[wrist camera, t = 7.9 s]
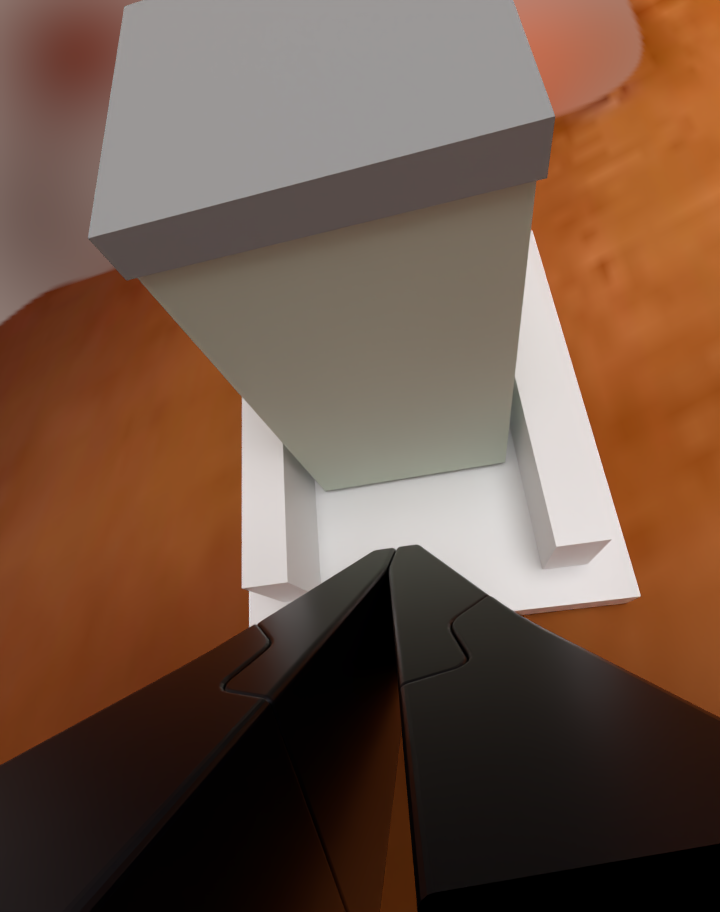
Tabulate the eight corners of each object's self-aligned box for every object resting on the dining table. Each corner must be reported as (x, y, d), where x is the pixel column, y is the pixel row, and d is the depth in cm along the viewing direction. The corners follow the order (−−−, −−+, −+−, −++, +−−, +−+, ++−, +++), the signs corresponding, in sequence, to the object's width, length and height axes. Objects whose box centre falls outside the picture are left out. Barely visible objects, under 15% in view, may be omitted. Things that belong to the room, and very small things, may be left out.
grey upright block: (509, 464, 16) (554, 116, 6) (322, 494, 16) (88, 238, 7) (478, 322, 18) (472, -111, 8) (313, 356, 19) (124, 6, 9)
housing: (626, 603, 15) (679, 577, 11) (267, 643, 17) (199, 635, 13) (529, 259, 20) (540, 157, 16) (262, 318, 22) (212, 238, 18)
